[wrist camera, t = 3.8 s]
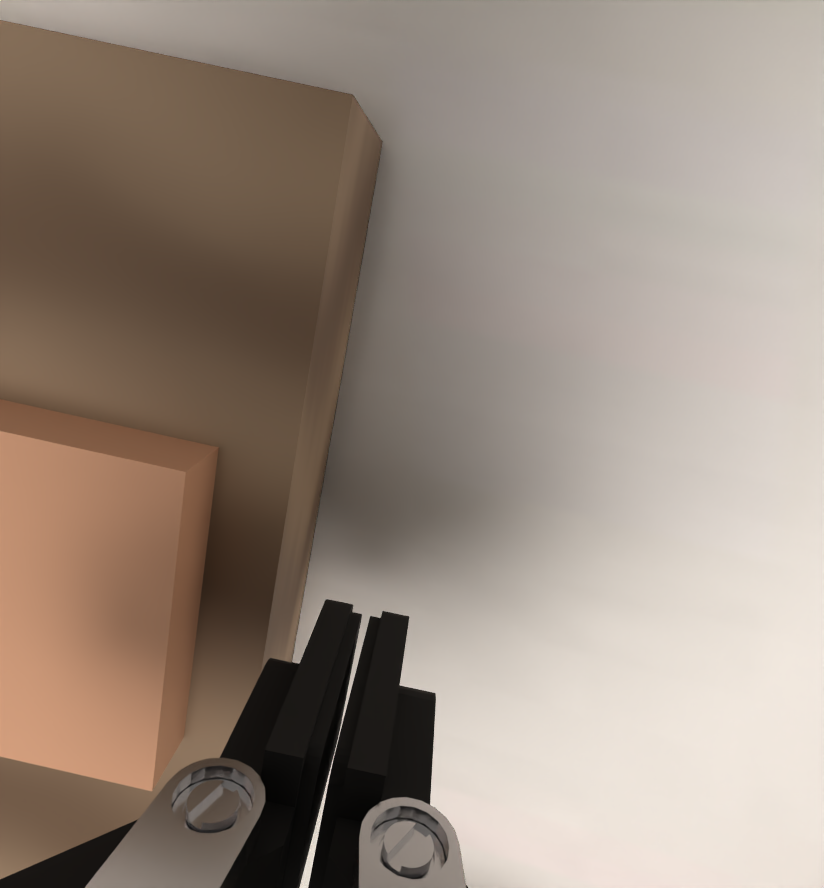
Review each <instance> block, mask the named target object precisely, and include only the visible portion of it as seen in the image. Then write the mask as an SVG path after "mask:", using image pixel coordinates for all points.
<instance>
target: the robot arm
mask: <svg viewBox="0 0 824 888" xmlns="http://www.w3.org/2000/svg"><path fill="white" fill-rule="evenodd" d="M352 610H353V605H352V604H347V603H343V602H338V601H333V600H329V599H326V600H325V602H324V605H323V607H322V610H321V612H320V615H319V617H318V620H317V622H316V625H315V627H314V630H313V632H312V635H311V637H310V640H309V642H308V645H307V647H306V649H305V652H304V654H303V657H302V659H301V662H300V664H297V663H292V662H287V661H283V660H278V659H273V658H270V659H268V661H267V662H266V664H265V666H264V668H263V670H262V672H261V674H260V676H259V678H258V680H257V682H256V684H255V687H254V689H253V691H252V693H251V695H250V697H249V699H248V701H247V703H246V705H245V707H244V709H243V711H242V713H241V715H240V717H239V719H238V721H237V723H236V725H235V727H234V729H233V731H232V733H231V735H230V737H229V740H228V742H227V744H226V746H225V748H224V750H223V752H222V754H221V756H220V758H208V759H204V760H201V761H197V762H193V763H192V764H190V765H188V766H186V767H184V768H183V769H181V770H179V771H178V772H177V773H176V774H175V775H174V776H173V777H172V778H171V779H170V780H169V781H168V782H167V783H166V785H165V786H164V787H163V788H162V790H161V791H160V792H159V794H158V795H157V796H156V797H155V799H154V800H153V801H152V803H151V804H150V805H149V806H148V808H147V809H146V810H145V811H144V813H143V814H142V815H141V817H140V818H139V819H138V820H135V821H133V822H131V823H128V824H126V825H124V826H121V827H119V828H117V829H115V830H112V831H110V832H108V833H105V834H103V835H101V836H99V837H96V838H94V839H92V840H89V841H87V842H85V843H82V844H80V845H78V846H76V847H73V848H71V849H69V850H66V851H64V852H62V853H60V854H57V855H55V856H53V857H50V858H48V859H46V860H43V861H41V862H39V863H37V864H34V865H32V866H30V867H27V868H25V869H23V870H21V871H18V872H16V873H14V874H11V875H9V876H7V877H4V878H2V879H0V888H299V887H300V883H301V879H302V875H303V871H304V867H305V864H306V860H307V856H308V852H309V848H310V844H311V840H312V837H313V833H314V829H315V825H316V821H317V817H318V813H319V809H320V806H321V802H322V798H323V794H324V790H325V786H326V782H327V779H328V775H329V771H330V767H331V763H332V759H333V755H334V752H335V748H336V744H337V740H338V735H339V731H340V726H341V721H342V716H343V710H344V705H345V700H346V695H347V690H348V685H349V680H350V674H351V669H352V664H353V659H354V654H355V649H356V643H357V638H358V633H359V628H360V623H361V617H362V614H358V613H354V612H352ZM408 622H409V616H404V615H399V614H394V613H390V612H385V611H382V616H381V618H377V617H372V616H370V619H369V623H368V627H367V631H366V635H365V639H364V643H363V647H362V651H361V654H360V658H359V662H358V666H357V670H356V674H355V678H354V682H353V686H352V689H351V693H350V697H349V701H348V705H347V709H346V713H345V717H344V721H343V725H342V728H341V732H340V736H339V740H338V744H337V748H336V752H335V756H334V760H333V765H332V769H331V774H330V779H329V784H328V789H327V794H326V799H325V805H324V810H323V815H322V820H321V825H320V830H319V836H318V841H317V846H316V851H315V856H314V861H313V867H312V872H311V877H310V882H309V887H308V888H468V887H467V886H466V883H465V877H464V870H463V864H462V858H461V851H460V845H459V842H458V839H457V835H456V832H455V830H454V828H453V827H452V825H451V824H450V822H449V821H448V819H447V818H446V817H445V816H444V815H443V814H442V813H440V812H439V811H438V810H437V809H436V808H435V807H433V806H431V805H430V794H431V776H432V758H433V740H434V721H435V703H436V695H435V693H432V692H427V691H422V690H418V689H413V688H408V687H404V686H399V684H400V677H401V670H402V663H403V656H404V649H405V642H406V636H407V629H408Z"/></svg>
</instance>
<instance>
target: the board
mask: <svg viewBox="0 0 824 888" xmlns="http://www.w3.org/2000/svg"><path fill="white" fill-rule="evenodd" d="M381 148H382V140H381V139H380V137H379V136H378V134H377V132H376V131H375V129H374V128H373V126H372V124H371V123H370V121H369V120H368V118H367V116H366V115H365V113H364V112H363V110H362V108H361V107H360V105H359V104H358V102H357V100H356V99H355V97H354V96H353V95H352V94H347V93H342V92H338V91H333V90H328V89H323V88H319V87H314V86H309V85H305V84H300V83H295V82H290V81H286V80H281V79H276V78H271V77H267V76H262V75H257V74H253V73H248V72H243V71H238V70H234V69H229V68H224V67H219V66H215V65H210V64H205V63H200V62H196V61H191V60H186V59H182V58H177V57H172V56H167V55H163V54H158V53H153V52H148V51H144V50H139V49H134V48H130V47H125V46H120V45H115V44H111V43H106V42H101V41H96V40H92V39H87V38H82V37H78V36H73V35H68V34H63V33H59V32H54V31H49V30H44V29H40V28H35V27H30V26H26V25H21V24H16V23H11V22H7V21H2V20H0V399H2V400H7V401H11V402H16V403H20V404H25V405H29V406H34V407H38V408H43V409H47V410H52V411H56V412H61V413H65V414H70V415H74V416H79V417H83V418H88V419H93V420H97V421H102V422H106V423H111V424H115V425H120V426H124V427H129V428H133V429H138V430H142V431H147V432H151V433H156V434H160V435H165V436H169V437H174V438H178V439H183V440H188V441H192V442H197V443H201V444H206V445H210V446H215V447H219V450H218V458H217V466H216V475H215V483H214V491H213V500H212V508H211V516H210V525H209V533H208V541H207V549H206V558H205V566H204V574H203V583H202V591H201V599H200V608H199V616H198V624H197V632H196V641H195V649H194V657H193V666H192V674H191V682H190V691H189V699H188V707H187V715H186V724H185V732H184V738H183V740H182V741H181V743H180V745H179V747H178V748H177V750H176V752H175V753H174V755H173V757H172V758H171V760H170V762H169V764H168V765H167V767H166V769H165V770H164V772H163V774H162V775H161V777H160V779H159V781H158V782H157V784H156V786H155V787H154V789H153V791H148V790H144V789H139V788H135V787H131V786H126V785H122V784H118V783H113V782H109V781H105V780H100V779H96V778H92V777H87V776H83V775H79V774H74V773H70V772H66V771H61V770H57V769H52V768H48V767H44V766H39V765H35V764H31V763H26V762H22V761H18V760H13V759H9V758H5V757H0V879H2V878H4V877H7V876H9V875H11V874H14V873H16V872H18V871H21V870H23V869H25V868H27V867H30V866H32V865H34V864H37V863H39V862H41V861H43V860H46V859H48V858H50V857H53V856H55V855H57V854H60V853H62V852H64V851H66V850H69V849H71V848H73V847H76V846H78V845H80V844H82V843H85V842H87V841H89V840H92V839H94V838H96V837H99V836H101V835H103V834H105V833H108V832H110V831H112V830H115V829H117V828H119V827H121V826H124V825H126V824H128V823H131V822H133V821H135V820H138V819H139V818H140V817H141V815H142V814H143V813H144V811H145V810H146V809H147V808H148V806H149V805H150V804H151V803H152V801H153V800H154V799H155V797H156V796H157V795H158V794H159V792H160V791H161V790H162V788H163V787H164V786H165V785H166V783H167V782H168V781H169V780H170V779H171V778H172V777H173V776H174V775H175V774H176V773H177V772H178V771H179V770H181V769H183V768H184V767H186V766H188V765H190V764H192V763H193V762H197V761H201V760H204V759H208V758H220V756H221V754H222V752H223V750H224V748H225V746H226V744H227V742H228V740H229V737H230V735H231V733H232V731H233V729H234V727H235V725H236V723H237V721H238V719H239V717H240V715H241V713H242V711H243V709H244V707H245V705H246V703H247V701H248V699H249V697H250V695H251V693H252V691H253V689H254V687H255V684H256V682H257V680H258V678H259V676H260V674H261V672H262V670H263V668H264V666H265V664H266V662H267V661H268V659H270V658H273V659H278V660H283V661H287V662H292V657H293V651H294V646H295V640H296V634H297V629H298V623H299V617H300V611H301V606H302V600H303V594H304V588H305V583H306V577H307V571H308V566H309V560H310V554H311V548H312V543H313V537H314V531H315V526H316V520H317V514H318V508H319V503H320V497H321V491H322V485H323V480H324V474H325V468H326V463H327V457H328V451H329V445H330V440H331V434H332V428H333V423H334V417H335V411H336V405H337V400H338V394H339V388H340V382H341V377H342V371H343V365H344V360H345V354H346V348H347V342H348V337H349V331H350V325H351V320H352V314H353V308H354V302H355V297H356V291H357V285H358V279H359V274H360V268H361V262H362V257H363V251H364V245H365V239H366V234H367V228H368V222H369V217H370V211H371V205H372V199H373V194H374V188H375V182H376V176H377V171H378V165H379V159H380V154H381Z"/></svg>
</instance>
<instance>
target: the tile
mask: <svg viewBox="0 0 824 888" xmlns="http://www.w3.org/2000/svg"><path fill="white" fill-rule="evenodd" d="M218 450H219V447H215V446H210V445H206V444H201V443H197V442H192V441H188V440H183V439H178V438H174V437H169V436H165V435H160V434H156V433H151V432H147V431H142V430H138V429H133V428H129V427H124V426H120V425H115V424H111V423H106V422H102V421H97V420H93V419H88V418H83V417H79V416H74V415H70V414H65V413H61V412H56V411H52V410H47V409H43V408H38V407H34V406H29V405H25V404H20V403H16V402H11V401H7V400H2V399H0V757H5V758H9V759H13V760H18V761H22V762H26V763H31V764H35V765H39V766H44V767H48V768H52V769H57V770H61V771H66V772H70V773H74V774H79V775H83V776H87V777H92V778H96V779H100V780H105V781H109V782H113V783H118V784H122V785H126V786H131V787H135V788H139V789H144V790H148V791H153V789H154V787H155V786H156V784H157V782H158V781H159V779H160V777H161V775H162V774H163V772H164V770H165V769H166V767H167V765H168V764H169V762H170V760H171V758H172V757H173V755H174V753H175V752H176V750H177V748H178V747H179V745H180V743H181V741H182V740H183V738H184V732H185V724H186V715H187V707H188V699H189V691H190V682H191V674H192V666H193V657H194V649H195V641H196V632H197V624H198V616H199V608H200V599H201V591H202V583H203V574H204V566H205V558H206V549H207V541H208V533H209V525H210V516H211V508H212V500H213V491H214V483H215V475H216V466H217V458H218Z"/></svg>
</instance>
